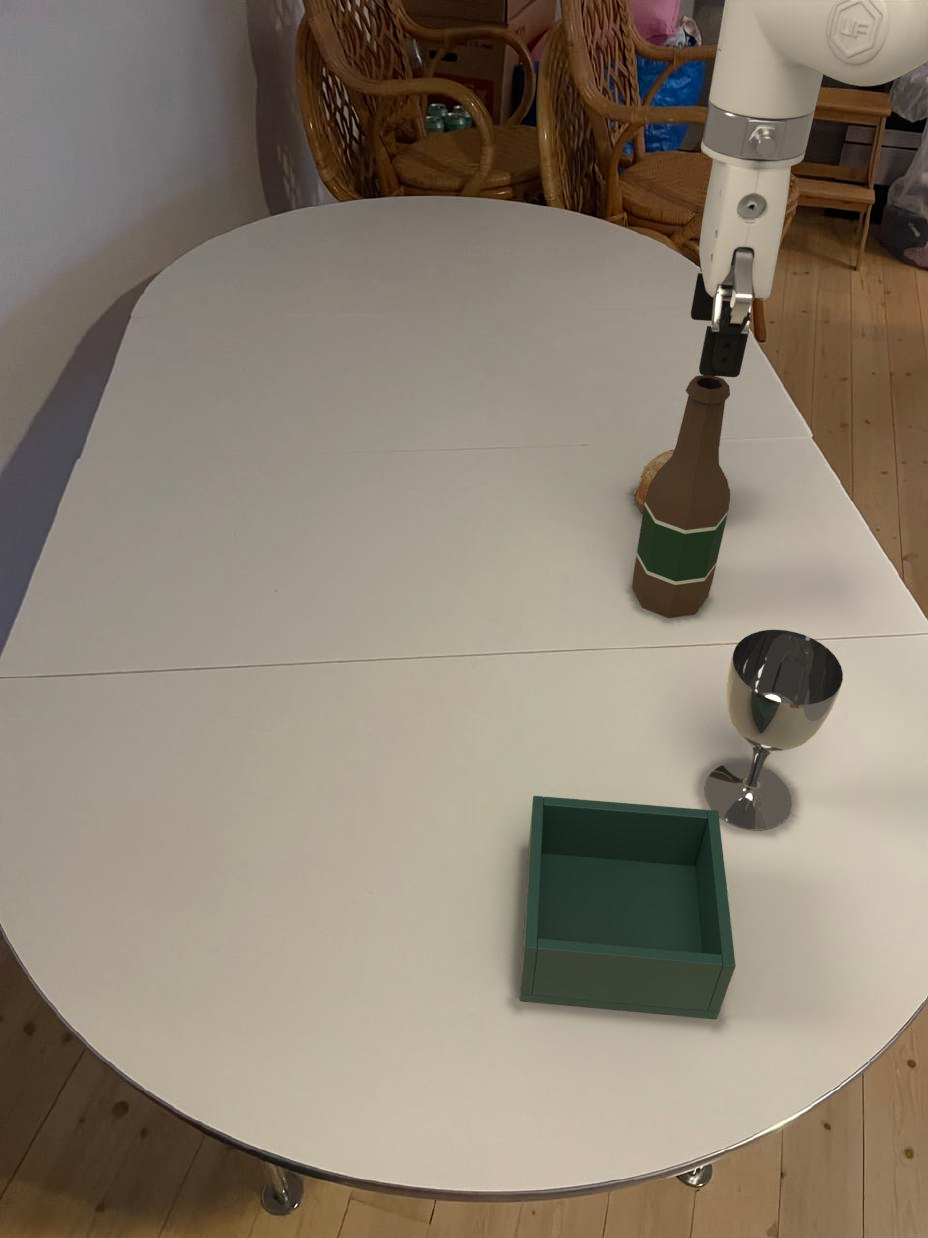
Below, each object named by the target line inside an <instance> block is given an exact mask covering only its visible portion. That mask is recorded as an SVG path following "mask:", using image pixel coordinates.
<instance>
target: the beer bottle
mask: <svg viewBox="0 0 928 1238" xmlns="http://www.w3.org/2000/svg"><path fill="white" fill-rule="evenodd" d="M685 392H686V393H687V395H688V396H687V400H686V404H685V408H684V412H683V416H682V419H681V420H682V421H681V424H680V427H679V432H678V436H677V440H676V444H675V447H674V448H673V449H674V452H673V454H672V457H671V458H670V459H669V460H668V461H667V462H666V463H665V464H664V465H663V466H662V467H661V468H660V469H659V471H658V472H657V473H656V475H655V476H654V478H653V480H652V481H651V483H650V484H649V487H648V491H647V495H646V499H645V504H644V510H643V514H642V516H641V524H640V529H639V536H638V543H637V549H636V555H635V562H634V569H633V577H632V589H633V591H634V593H635V595H636V597H637V599H638V601H639V603H640V605H641V606H642V608H643V609H645V610H648V611H650V612H652V613H654V614H657V615H659V616H663V617H665V618H667V619H670V618H677V617H685V616H693V615H695V614H697V612H698V611H699V610H700V608H701V607H702V606H703V604H705V601H707V599H708V597H709V595H710V591H711V588H712V585H713V582H714V576H715V572H716V568H717V563H718V559H719V554H720V550H721V545H722V540H723V537H724V532H725V527H726V523H727V519H728V515H729V509H730V501H731V489H730V486H729V482H728V478H727V477H726V475H725V472H724V470H723V469H722V467H721V465H720V444H721V437H722V430H723V420H724V414H725V407H726V401H727V399H728V398H730V396H731V390H730V385H729V383H728V382H727V381H726V380H725V378H724V377H723V378H722V377H720V376H706V375H701V374H700V375H695V376H694V377H693V378H692V379H691V380H690V381H689V383H688V385H687V386H686V389H685ZM723 472H724V473H723ZM729 489H730V490H729Z"/></svg>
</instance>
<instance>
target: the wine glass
mask: <svg viewBox="0 0 928 1238" xmlns="http://www.w3.org/2000/svg"><path fill="white" fill-rule="evenodd" d="M843 681H844V671H843V667H842V665H841V663H840V661H839V660H838V658H837V657H836V655H835V654H834V653H833V652H832V651H831V650H830V649H829V648H828V647H827V646H825V645H824V644H822V642H819V641H818V640H816V639H814V638H812V637H810V636H807V635H805V634H802V633H799V632H796V631H791V630H785V629H765V630H759V631H756V632H753V633H750V634H748V635H746V636H744V637H743V639H741V640H740V641H739V642H738V643H737V644H736V646H735V648H734V650H733V653H732V656H731V660H730V663H729V668H728V673H727V680H726V692H725V693H726V695H725V696H726V706H727V713H728V716H729V720H730V723H731V724H732V726H733V727H734V729H735V730H736V732H737V733H738V734H739V735H740V737H742V738H743V739H744V740H745V741H746V742H748V743H749V745H750V746H751V749H752V758H751V759H752V760H751V762H745V761H735V762H729V763H725V764H722V765H719V766H718V767H716V768H715V769H713V770H712V771H711V772H710V773H709V775H708V776H707V777H706V780H705V782H704V787H703V788H704V790H703V791H704V796H705V799H706V802H707V804H708V806H709V808H710V809H711V810H717V811H718V813H719V819H722V820H723V821H724V822H726V823H728V824H730V825H732V826H734V827H737V828H739V829H743V830H749V831H766V830H770V829H774V828H776V827H778V826H780V825H781V824H783V823H784V822H785V821H786V820H787V819H788V817H789V816H790V814H791V812H792V808H793V806H792V805H793V800H792V795H791V793H790V790H789V788H788V785H786V783H785V782H784V781H783V780H782V779H781V778H780V777H779V776H778V775H777V774H776V773H774V772H773V771H771V770H769V769H768V768H766V767H764V765H765V763H766V761H767V759H768V758H769V757H770V755H771V754H773V753H774V752H785V751H789V750H790V751H791V750H792V749H796V748H799V747H802V746H803V745H805V744H806V743H807V742H809V741H810V740H811V739H812V738H813V737H814V736H815V735H816V734H817V733H818V732H819V730H820V729H821V728H822V727H823V725H824V723H825V722H826V720H827V719H828V717H829V716H830V714H831V712H832V711H833V708H834V706H835V704H836V702H837V699H838V696H839V694H840V692H841V691H840V690H841V688H842V684H843Z"/></svg>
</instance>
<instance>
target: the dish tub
mask: <svg viewBox="0 0 928 1238" xmlns="http://www.w3.org/2000/svg"><path fill="white" fill-rule="evenodd" d="M530 817H531V818H530V826H529V827H530V829H529V836H528V837H529V838H528V848H527V849H528V850H527V865H526V866H527V867H526V881H525V882H526V883H525V901H524V918H523V920H524V921H523V934H522V935H523V937H522V953H521V954H522V956H521V969H520V970H521V972H520V973H521V974H520V989H519V990H520V992H519V1001H520V1002H530V1003H541V1004H551V1005H561V1006H571V1007H581V1008H582V1007H583V1008H592V1009H601V1010H602V1009H604V1010H615V1011H626V1012H636V1013H645V1014H657V1015H666V1016H667V1015H668V1016H678V1017H689V1018H700V1019H710V1020H717V1019H718V1017H719V1014H720V1011H721V1008H722V1006H723V1003H724V1000H725V997H726V994H727V992H728V989H729V986H730V983H731V980H732V977H733V975H734V971H735V970H736V957H735V950H734V938H733V931H732V930H733V929H732V920H731V912H730V904H729V893H728V887H727V884H728V883H727V876H726V868H725V859H724V850H723V840H722V832H721V824H720V817H719V813H718V811H717V810H712V809H703V808H700V809H699V808H689V807H677V806H665V805H652V804H643V803H642V804H641V803H640V804H638V803H628V802H616V801H603V800H592V799H579V798H568V797H553V796H543V795H533V796H532V806H531V814H530Z"/></svg>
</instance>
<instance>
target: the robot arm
mask: <svg viewBox="0 0 928 1238" xmlns="http://www.w3.org/2000/svg"><path fill="white" fill-rule="evenodd" d="M723 5H724V6H723V12H722V17H721V23H720V29H719V35H718V41H717V47H716V53H715V60H714V65H713V71H712V78H711V82H710V83H711V84H710V88H709V89H710V90H709V96H708V101H707V106H706V113H705V119H704V126H703V132H702V137H701V143H700V150H701V151H702V153H703V154H704V155H706V156H708V157H709V158H710V159H712V165H711V169H710V177H709V181H708V186H707V190H706V191H707V192H706V196H705V202H704V208H703V215H702V221H701V228H700V236H699V251H698V252H699V263H700V267H699V268H700V269H699V271H700V272H697V274H696V276H697V277H696V281H695V287H694V293H693V297H692V298H693V299H692V304H691V309H690V318H691V319H692V320H694V321H706V322H711V323H710V324H711V325H706V329H705V334H704V340H703V345H702V351H701V355H700V361H699V365H698V370H699V371H698V372H699V374H700V376H701V375H706V376H716V377H720V378H722V377H723V378H737V377H739V375H740V374H741V370H742V365H743V361H744V356H745V352H746V348H747V342H748V339H749V333H750V327H751V326H750V325H751V314H752V303H753V302H752V301H753V296H754V298H755V299H759V301H761V302H763V301H766V300H767V299H768V298H769V297H770V296H771V292H772V287H773V284H774V283H773V282H774V277H775V272H776V266H777V261H778V255H779V251H780V246H781V239H782V234H783V228H784V223H785V217H786V210H787V205H788V199H789V189H790V182H791V169H792V166H795V165H798V164H800V163H802V162H803V160H804V158H805V155H806V151H807V146H808V142H809V138H810V133H811V129H812V124H813V120H814V116H815V111H816V106H817V102H818V98H819V93H820V91H821V90H820V89H821V86H822V81H823V77H824V76H826V77H828V78H831V79H833V80H834V81H835V80H836V81H838V82H841V83H844V84H847V85H851V86H852V85H853V86H858V87H874V86H880V85H884V84H886V83H889V82H892V81H894V80H896V79H898V78H900V77H902V76H904V75H906V74H908V73H910V72H911V71H913V70H915V69H917V68H919V67H920V66H922V65H924V64H926V63H928V0H724V4H723ZM753 294H754V295H753Z"/></svg>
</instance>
